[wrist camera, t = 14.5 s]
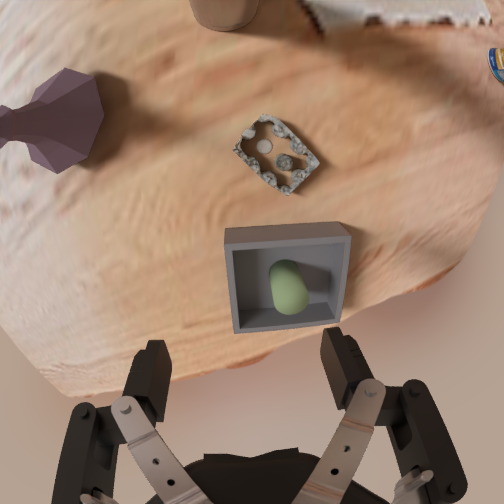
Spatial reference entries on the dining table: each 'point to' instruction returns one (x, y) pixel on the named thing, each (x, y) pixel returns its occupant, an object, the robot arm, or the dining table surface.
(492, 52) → the beverage bottle
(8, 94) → the dining table surface
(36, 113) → the flask
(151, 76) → the dining table surface
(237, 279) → the bin
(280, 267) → the green capsule
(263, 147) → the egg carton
